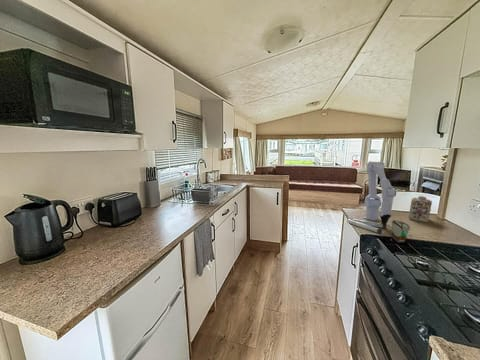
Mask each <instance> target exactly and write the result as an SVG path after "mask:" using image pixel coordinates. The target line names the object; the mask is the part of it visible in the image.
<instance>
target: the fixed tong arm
mask: <svg viewBox="0 0 480 360" xmlns="http://www.w3.org/2000/svg"><path fill="white" fill-rule="evenodd" d="M346 223H347V224H350V225H353V226H355V227H356V226H357V227H359V228H362V229H364V230H367V229H368V230H367V231H370V230H371V231H370V232H373V231H374V232H373V233H376V234H379V235H382V234H383V228H379V227H374V226H369V225H366V224H363V223H360V222H357V221H354V220H351V219H350V218H347V219H346ZM381 233H382V234H381Z"/></svg>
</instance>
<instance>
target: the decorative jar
mask: <svg viewBox="0 0 480 360" xmlns="http://www.w3.org/2000/svg"><path fill="white" fill-rule="evenodd" d="M432 203H433V201H432V200H430V199H428V198H427V197H426V196H423V195H422V196H421V195H418V197H412V198H411V201H410V206H409V214H408V220H413V221H417V222H422V221H423V223H427V222H428V223H429V219H430V215H431V212H432V211H431V208H432V205H433V204H432Z"/></svg>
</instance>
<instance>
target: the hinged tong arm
mask: <svg viewBox="0 0 480 360" xmlns="http://www.w3.org/2000/svg"><path fill="white" fill-rule="evenodd" d="M349 219H351V220H354V221H357V222H360V223H363V224H366V225H369V226H372V227H375V228H379V229H387V224H382V222H377V221H376V222H375V221H371V220H365V219H357V218H352V217H350V218H349Z"/></svg>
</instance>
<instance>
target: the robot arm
mask: <svg viewBox="0 0 480 360" xmlns="http://www.w3.org/2000/svg"><path fill="white" fill-rule="evenodd" d="M385 167H386V166H385V162H384V161H371V160H370V161H368V162H367V164H366V173H367V176H368V177H367V180H368V181H367V182H368V194H367V195H366V196H365V197H364V202H363V203H364V206H365V207H366V208H365V216H363V217H362V218H363V219H364V220H365V219H366V220H368V221H371V222H375V221H378V220H380V221H381V222H380V223H382V224H386V225H388V221H389V220H390V218H391V217H392V215H394V213H393V209H392V208H393V203H394V201H393V200H394V198H395V197H396V195H397V189H395V188H394V187H393V186H392V184H391V182H390V179H388V178H387V177H386V173H385V170H384V169H385ZM377 176H378V178H379V180H380V181H379V185H380V188H381V197H380V196H379V195H378V191H377V190H378V189H377V186H378V185H377ZM381 198H382V200H381ZM379 208H380V209H379ZM379 217H380V218H379Z"/></svg>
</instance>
